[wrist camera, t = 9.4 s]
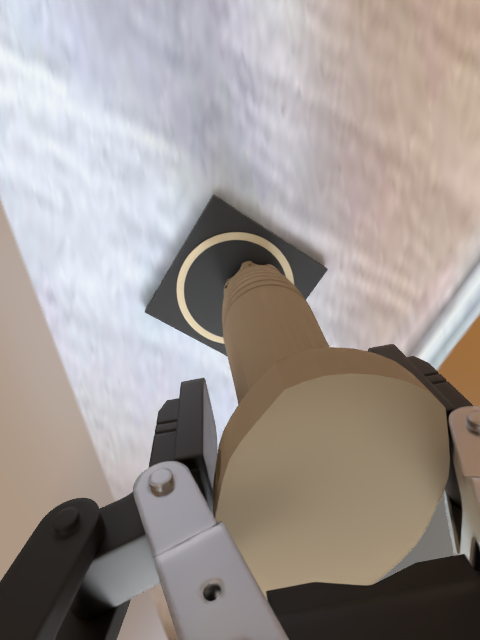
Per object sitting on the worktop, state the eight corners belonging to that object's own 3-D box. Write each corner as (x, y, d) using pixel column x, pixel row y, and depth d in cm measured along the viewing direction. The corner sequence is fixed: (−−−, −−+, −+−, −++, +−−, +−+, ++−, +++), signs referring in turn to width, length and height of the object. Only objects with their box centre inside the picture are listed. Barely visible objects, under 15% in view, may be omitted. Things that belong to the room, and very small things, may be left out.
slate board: (213, 194, 21) (213, 195, 21) (325, 267, 23) (328, 270, 23) (145, 309, 23) (143, 313, 23) (253, 367, 25) (254, 372, 25)
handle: (201, 333, 23) (197, 599, 10) (219, 221, 21) (247, 359, 7) (283, 344, 24) (389, 606, 10) (309, 236, 22) (492, 388, 8)
